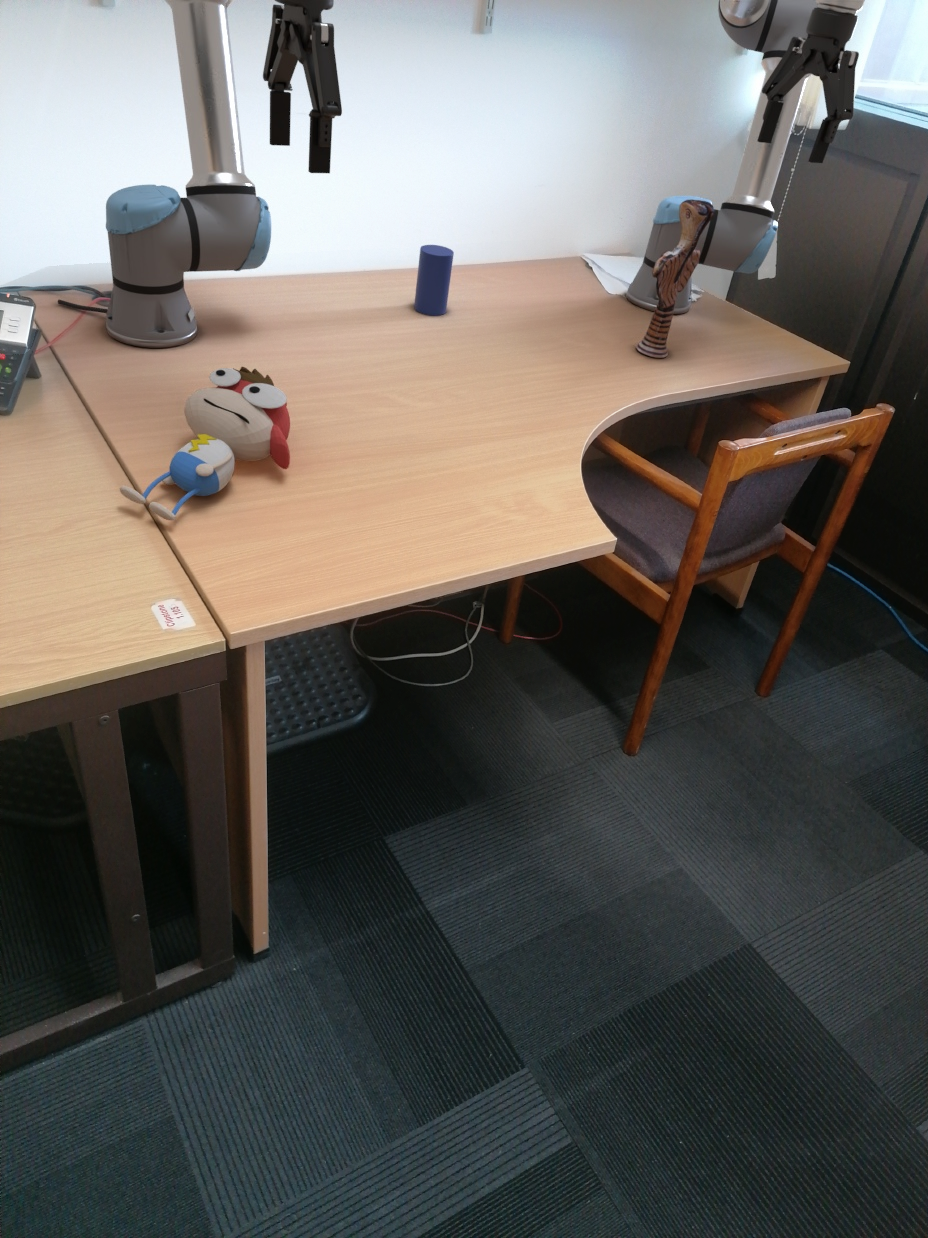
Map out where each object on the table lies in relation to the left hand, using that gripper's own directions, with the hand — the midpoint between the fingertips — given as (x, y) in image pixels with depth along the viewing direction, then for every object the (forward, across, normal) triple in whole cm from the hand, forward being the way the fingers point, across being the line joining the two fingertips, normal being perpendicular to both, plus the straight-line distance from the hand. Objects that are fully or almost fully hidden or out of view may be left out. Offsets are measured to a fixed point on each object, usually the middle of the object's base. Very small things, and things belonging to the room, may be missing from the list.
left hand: (298, 158), depth 120 cm
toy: (+37, -16, +18) cm, 44 cm away
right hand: (-4, -5, -91) cm, 91 cm away
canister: (+37, +34, -45) cm, 68 cm away
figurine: (+37, +5, -82) cm, 90 cm away
